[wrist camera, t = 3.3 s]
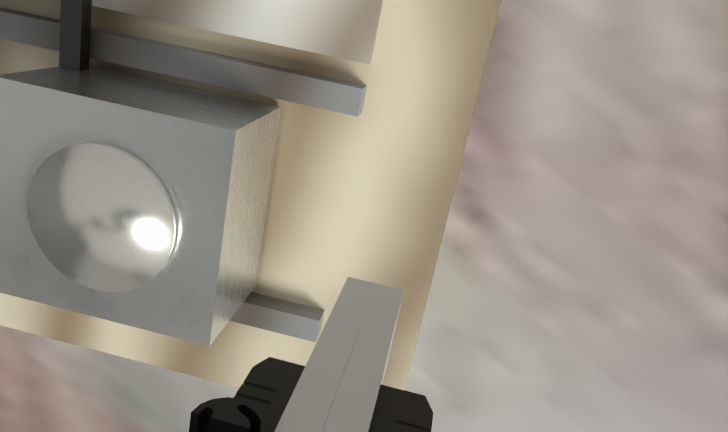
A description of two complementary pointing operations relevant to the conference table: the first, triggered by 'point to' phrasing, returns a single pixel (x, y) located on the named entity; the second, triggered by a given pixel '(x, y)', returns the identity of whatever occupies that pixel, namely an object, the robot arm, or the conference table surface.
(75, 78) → the grey dimpled block
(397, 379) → the base
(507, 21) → the conference table surface
